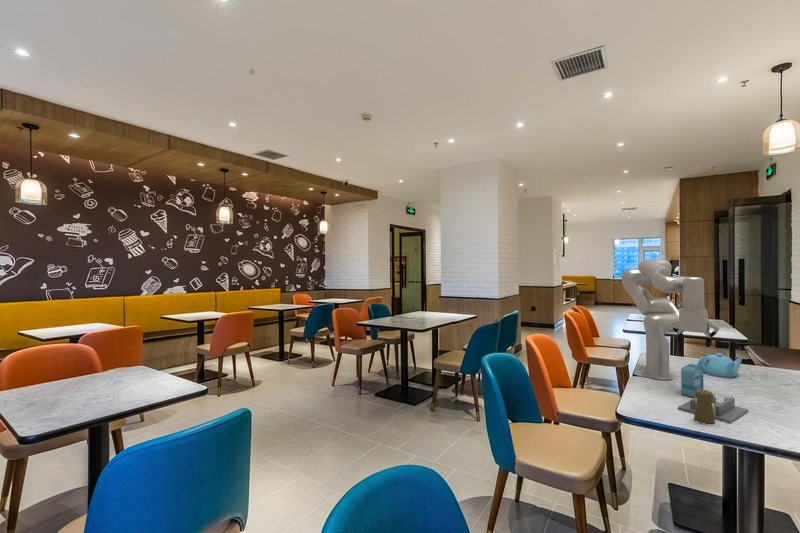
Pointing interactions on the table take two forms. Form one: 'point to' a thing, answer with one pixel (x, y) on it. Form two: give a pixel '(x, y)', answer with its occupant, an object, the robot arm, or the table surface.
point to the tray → (718, 408)
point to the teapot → (719, 365)
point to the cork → (704, 407)
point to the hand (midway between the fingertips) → (694, 345)
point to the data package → (691, 379)
